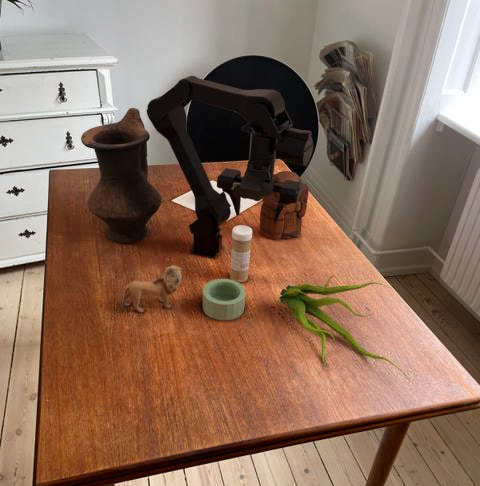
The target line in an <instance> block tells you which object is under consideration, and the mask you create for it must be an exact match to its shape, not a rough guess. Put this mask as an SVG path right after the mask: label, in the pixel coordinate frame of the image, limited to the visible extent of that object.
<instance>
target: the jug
mask: <svg viewBox="0 0 480 486" xmlns="http://www.w3.org/2000/svg"><path fill="white" fill-rule="evenodd" d="M150 138H151V135H150V133H149V131H148V130H147V129H146V127H145V125H144V122H143V119H142V117H141V112H140V110H139V108H136V107H129V108H128V110H127V111H126V113H125V115H124V116H123V117H122V118H121V119H120V120H119V121H117V122H112V123H107V124H103V125H97V126H93V127H91V128H89V129H87V130H85V131H84V132H83V133H82V135H81V137H80V141H81V144H83V146H84V147H85V148H88V149H93V150H94V154H95V157H96V160H97V164H98V170H99V173H100V177H99V181H98V182H97V184H96V185H95V187H94V188H93V190H92V191H91V193H90V195H89V197H88V199H87V207H88V209H89V212H90V213H91V214H93V215H94V216H95V217H97V218H99V219H100V220H101V221H102V222H104V224H105V225H106V226H107V227H106V230H105V235H106V237H107V239H109V240H110V241H113V242H115V243H121V244H132V243H135V242H138V241H142V240H144V239H145V238H146V237H148V234H149V229H148V226H147V223H148V222H149V221H150V220H151V219H152V217H153V216H154V215H155V214H156V213H157V212H158V210H159V209H160V208H161V205H162V200H163V199H162V195H161V193H160V192H159V191H158V189H156V188H155V186H153V185H152V184H151V183H150V182H149V180H148V177H149V164H148V141H149V140H150Z"/></svg>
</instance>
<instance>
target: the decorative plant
mask: <svg viewBox="0 0 480 486" xmlns="http://www.w3.org/2000/svg"><path fill="white" fill-rule="evenodd" d="M337 277H339V278H340V276H338V275H337ZM332 278H335V275H331V276H329V277H328V279H327V281H326V282H325V284H324V286H322V285H314V284H311V283H303V284H297V285H290V284H288V285H287V286H286V287H285V288H282V289H281V291H280V294H279V295H280V296H279V300H280V301H279V302H280V303H282V304H284V305H285V304H286V305H287V306H288V307H289V308H290V313H291V316H292V317H293V318H294V319H296V321H299V322H300V324H301V325H302V327H303V328H304V330H305V331H308V332H312V333H315V334H316V336H318V337H319V338H320V340H321V360H322V362H323V364H324V365H325V367H326V368H328V365H327V364H326V362H325V357H324V356H325V349H326V338H327V337H326V334H327V335H329V336H330V337H331V338H332V339H333V341H335V339H336V338H335V337H334V335H333V334H332V332H330V331H328V330H323V329H321V327H320V326H319V325H318V324H317V323H316V322H315V321H313V320H312V319H310V317H308V316H307V315H310V316H312V317H314V318H316V319H318V320H319V321H321V322H322V323H324V324H325V325H327V326H328V327H329V328H330V329H332V330H333V331H334V332H335V333H337V334H338V335H339V336H340V337H341V338H342V339H343V340H345V341H346V342H347V343H348V344H350V345H351V346H352V347H353V348H354V349H355V350H356V351H357V352H359V353H360V354H362V355H364V356H367V357H369V358H372V359H376V360H383V361H386V362H387V363H390V364H391V365H393V366H394V367H395V368H396V369H398V370H399V371H401V373H402V374H403V375H404V376H405V377H406V378H407V379H408V380H410V378H409V377H408V376H407V374H405V372H404V371H403V370H402V369H401V368H400V367H398V366H397V365H396V364H395V363H393V362H392V361H391V360H389V359H388V358H386V357H384V356H380V355H378V354H374V353H372V352H370V351H367V350H366V349H363V348H362V347H361V346H360V344H359V343H358V342H357V341H356V339H354V336H352V335H351V333H350V332H349V331H348V330H347V329H345V328H344V327H342V326H341V325H340V324H339V323H337V322H336V321H335V320H334V319H332V317H330V316H329V315H328V314H326V313H325V312H324V311H323V310H322V309H320V308H323V307H325V306H329V305H331V306H333V307H335V305H334V304H337V303H338V304H340V305H342V306H343V307H345V308H346V309H347V310H348V311H349V312H350V313H351V314H353V315H354V316H357V317H364V318H365V317H369V316H372V315H373V313H370V314H368V315H362V314H358V313H357V312H355V311H354V309H352V308H351V306H350V305H349V304H348V303H347V302H346V301H344V300H342V299H341V298H336V297H328V296H329V295H335V294H340V293H344V292H345V293H346V292H349V291H355V290H360V289H363V288H366V287H367V286H370V285H374V284H375V285H381V286H385V287H387V288H389V289H391V286H388V285H386V284H384V283H380V282H375V281H373V282H372V281H371V282H367V283H363V284H353V285H352V284H351V285H350V284H349V285H338V286H331V287H328V285H329V283H330V280H331V279H332ZM308 294H309V295H321V296H326V297H321V298H313V297H310V296H309V295H308ZM306 314H307V315H306Z"/></svg>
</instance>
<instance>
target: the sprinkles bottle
mask: <svg viewBox="0 0 480 486" xmlns="http://www.w3.org/2000/svg"><path fill="white" fill-rule="evenodd" d="M231 238H232V242H231V252H230V253H231V254H230V255H231V256H230V273H229V279H230V280H234V281H236V282H238V283H245V282H246V281H247V280H248V279H249V268H250V260H251V259H250V257H251V242H252V239H253V229H252V228H251V227H250V226H247V225H244V224H239V225H238V224H237V225H235V226H234V227H233V228H232V230H231Z"/></svg>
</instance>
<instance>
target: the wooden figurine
mask: <svg viewBox="0 0 480 486" xmlns="http://www.w3.org/2000/svg"><path fill="white" fill-rule="evenodd" d="M285 180H291V181H296V182H301V184H302V193H301V195H300V197H299V199H298V201H297V203H291V205H285V207H284V208H283V210H282V212H281V214H280V216H279V218H278V220H277V222H276V224H274V217H275V213H276V209H277V202H278V200H279V198H280V197H279V196H280V193H276V192H272V194H271V196H266V197H264V196H263V197H262V200H261V201H262V204H261V208H260V211H259V231H260V234H262V235H263V237H266V238H267V239H269V240H275V241H279V240H290V239H291V240H292V238H300V236H301V231H302V224H303V218H304V217H305V215H306V213H307V209H308V202H309V201H308V199H309V191H310V190H309V186H308V185H307V183H306V182H304V181H303V180H302V179H301V177H300V176H299V175H298V174H297V173H296V172H295V171H290V170H282V171H278V172H276V173H274V178H273V181H274V183H277V184H282V185H283V184H284V182H285Z"/></svg>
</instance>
